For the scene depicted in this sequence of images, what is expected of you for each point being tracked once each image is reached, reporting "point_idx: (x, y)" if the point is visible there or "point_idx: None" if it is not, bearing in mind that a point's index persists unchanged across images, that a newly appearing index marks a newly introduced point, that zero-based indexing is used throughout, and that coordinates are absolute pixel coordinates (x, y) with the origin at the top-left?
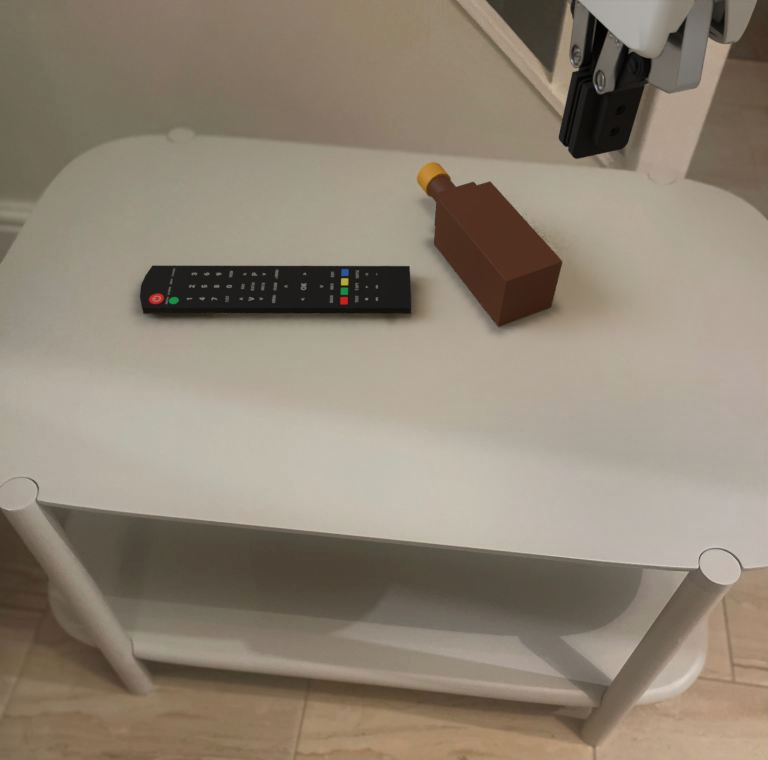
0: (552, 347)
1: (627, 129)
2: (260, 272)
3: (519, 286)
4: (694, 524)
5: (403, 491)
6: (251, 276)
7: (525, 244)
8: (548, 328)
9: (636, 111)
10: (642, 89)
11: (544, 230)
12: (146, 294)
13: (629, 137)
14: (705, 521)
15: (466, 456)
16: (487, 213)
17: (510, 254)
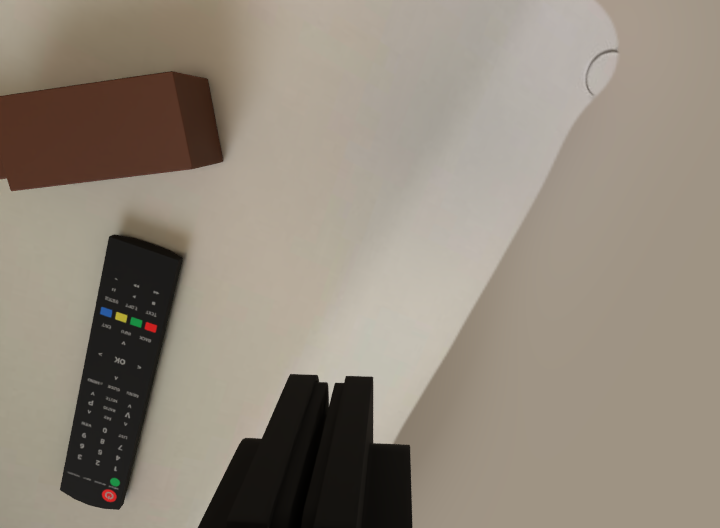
0: (271, 109)
1: (410, 467)
2: (89, 396)
3: (195, 143)
4: (554, 73)
5: (402, 342)
6: (93, 406)
7: (127, 109)
8: (240, 99)
9: (363, 435)
10: (359, 495)
11: (63, 15)
12: (101, 502)
13: (369, 383)
14: (556, 58)
15: (385, 270)
16: (54, 134)
17: (143, 140)
